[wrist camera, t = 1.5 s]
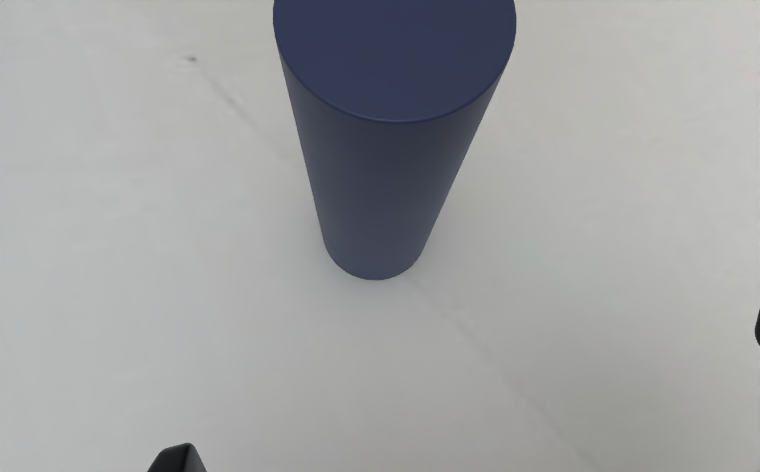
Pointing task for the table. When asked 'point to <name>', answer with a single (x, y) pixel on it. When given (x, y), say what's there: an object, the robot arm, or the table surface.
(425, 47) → the navy round peg
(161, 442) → the table surface
